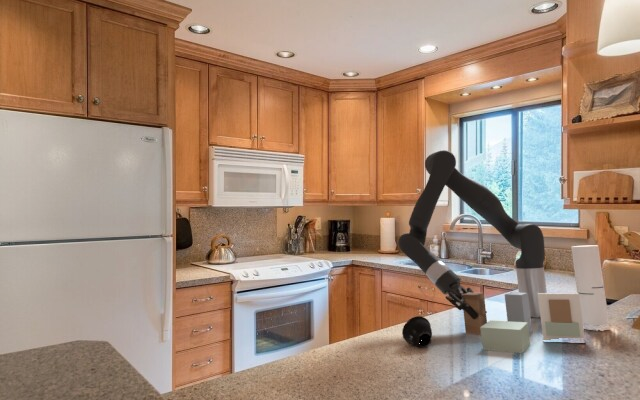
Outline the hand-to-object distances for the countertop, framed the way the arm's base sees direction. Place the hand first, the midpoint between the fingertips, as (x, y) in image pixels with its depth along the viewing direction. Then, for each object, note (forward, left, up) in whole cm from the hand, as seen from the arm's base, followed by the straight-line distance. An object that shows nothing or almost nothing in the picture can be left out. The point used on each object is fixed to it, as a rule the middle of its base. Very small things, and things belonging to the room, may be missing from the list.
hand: (480, 315), depth 132 cm
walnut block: (0, -2, -5) cm, 6 cm away
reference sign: (0, +23, -5) cm, 24 cm away
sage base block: (+12, +13, -5) cm, 18 cm away
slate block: (-4, +10, -5) cm, 12 cm away
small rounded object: (+20, -11, -5) cm, 23 cm away
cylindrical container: (-20, +26, -5) cm, 33 cm away
